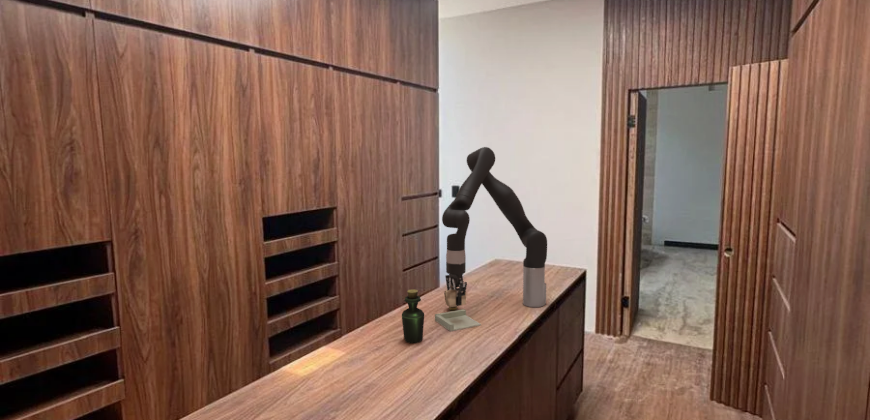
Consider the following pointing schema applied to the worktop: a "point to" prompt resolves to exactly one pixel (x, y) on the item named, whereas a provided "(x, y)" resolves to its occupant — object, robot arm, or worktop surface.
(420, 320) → the potion bottle
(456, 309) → the cup
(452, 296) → the maple brick
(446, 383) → the worktop surface
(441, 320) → the corner tray
